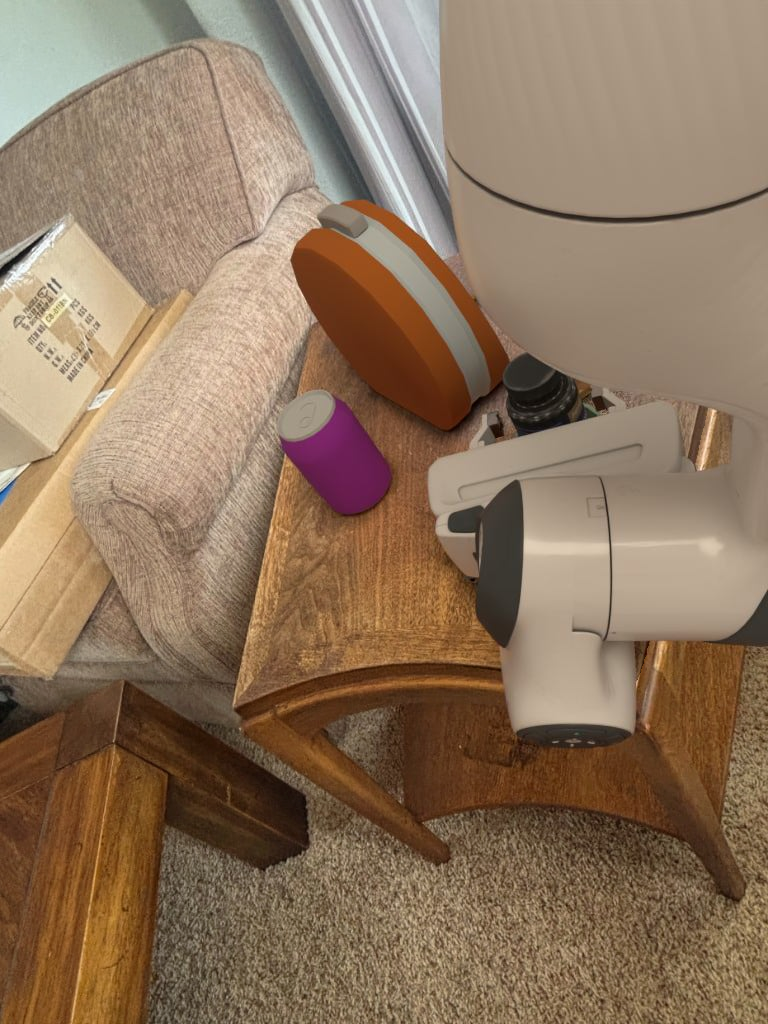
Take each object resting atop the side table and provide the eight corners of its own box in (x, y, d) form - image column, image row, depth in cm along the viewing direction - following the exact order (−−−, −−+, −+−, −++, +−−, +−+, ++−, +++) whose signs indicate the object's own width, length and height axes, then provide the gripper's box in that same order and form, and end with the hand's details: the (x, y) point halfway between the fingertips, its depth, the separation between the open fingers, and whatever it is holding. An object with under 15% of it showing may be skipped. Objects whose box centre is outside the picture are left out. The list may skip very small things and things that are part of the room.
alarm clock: (537, 380, 75) (456, 185, 59) (471, 446, 74) (369, 264, 58) (411, 325, 91) (320, 159, 75) (354, 379, 89) (249, 221, 74)
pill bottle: (604, 470, 64) (571, 383, 57) (536, 489, 66) (496, 407, 59) (592, 421, 68) (561, 333, 60) (529, 440, 70) (490, 358, 63)
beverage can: (394, 508, 74) (337, 430, 65) (328, 526, 76) (265, 454, 68) (395, 452, 78) (342, 373, 70) (333, 472, 81) (274, 398, 73)
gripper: (698, 475, 48) (665, 338, 57) (415, 536, 56) (423, 409, 65) (710, 528, 53) (678, 394, 61) (446, 578, 61) (449, 454, 69)
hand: (545, 402), depth 63 cm, fingers open, 8 cm apart
